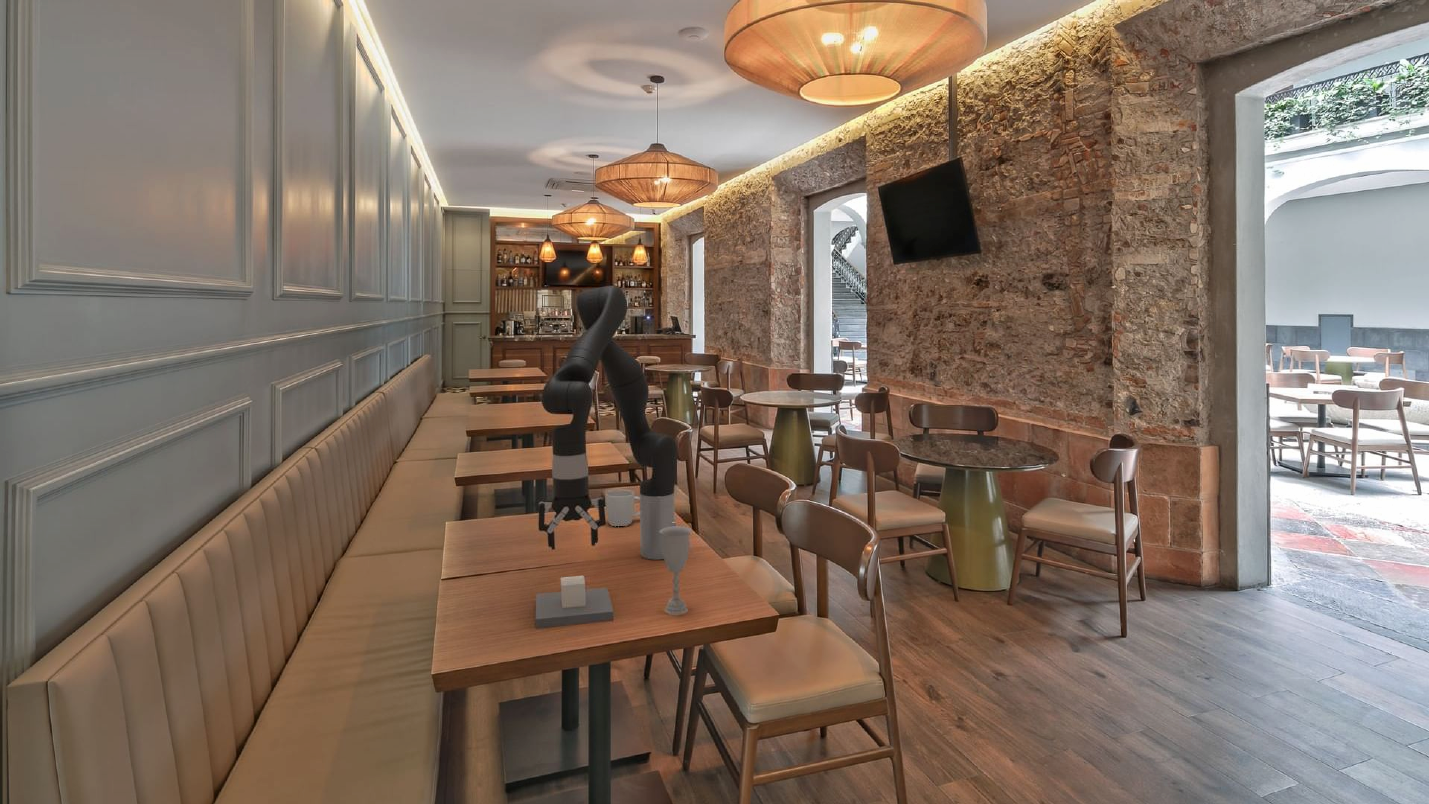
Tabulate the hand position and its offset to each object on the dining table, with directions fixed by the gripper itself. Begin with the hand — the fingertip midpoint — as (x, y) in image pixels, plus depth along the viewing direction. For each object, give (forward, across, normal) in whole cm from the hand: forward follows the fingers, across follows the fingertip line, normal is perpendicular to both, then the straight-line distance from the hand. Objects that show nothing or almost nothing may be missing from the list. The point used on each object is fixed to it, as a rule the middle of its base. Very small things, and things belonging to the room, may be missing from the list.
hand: (573, 546), depth 156 cm
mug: (+16, -19, -65) cm, 69 cm away
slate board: (+15, 0, 0) cm, 15 cm away
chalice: (+15, -22, +5) cm, 27 cm away
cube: (+13, 0, 0) cm, 13 cm away
